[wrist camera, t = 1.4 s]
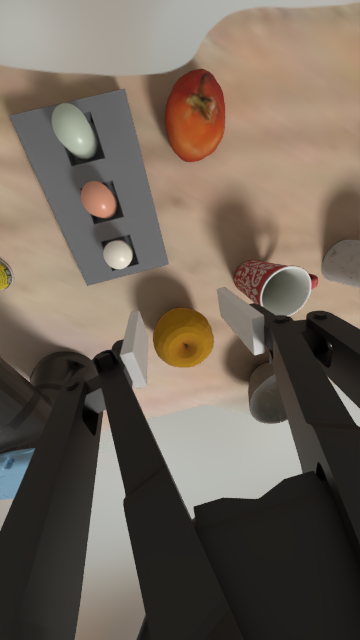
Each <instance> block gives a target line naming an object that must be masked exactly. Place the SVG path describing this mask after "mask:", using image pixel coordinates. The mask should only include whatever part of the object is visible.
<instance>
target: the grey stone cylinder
mask: <svg viewBox="0 0 360 640" xmlns="http://www.w3.org/2000/svg"><path fill="white" fill-rule="evenodd" d="M322 274H323V276H324V277H325V278H326V279H327V280H329V281H334V282H338V283H342V284H345V285H349V286H353V287H357V288H360V240H349V239H347V240H343V241H340V242H338V243H337V244H335V245H334V246H333V247H332V248H330V250H329V251H328V252H327V254H326V255H325V257H324V260H323V262H322Z"/></svg>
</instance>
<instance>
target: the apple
mask: <svg viewBox="0 0 360 640" xmlns="http://www.w3.org/2000/svg"><path fill="white" fill-rule="evenodd" d="M153 343H154V348H155V350H156V352H157V354H158V356H159V357H160V358H161V359H162V360H163V361H165V362H166V363H167V364H169V365H171V366H175V367H193V366H195V365H197V364H200V363H201V362H202V361H203V360H204V359H206V358H207V356H208V355H209V354H210V353H211V351H212V349H213V343H214V337H213V333H212V329H211V326H210V324H209V323H208V321H207V319H206V318H205V317H204V316H203V315H202V314H201V313H199V312H197V311H195V310H192V309H190V308H181V307H180V308H175V309H172V310H169V311H168V312H166V313H165V314H164V315H163V316H162V317H161V318H160V319H159V321H158V323H157V325H156V327H155V330H154V333H153Z"/></svg>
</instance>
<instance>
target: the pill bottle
mask: <svg viewBox="0 0 360 640" xmlns="http://www.w3.org/2000/svg"><path fill="white" fill-rule="evenodd" d="M13 280H14V276H13V272H12V270H11V268H10V267H9V266H8V265H7V264H6V263H5V262H4V261H2V260H0V291H1V290H4V289H6V288H8V287H9V286H11V285H12V283H13Z"/></svg>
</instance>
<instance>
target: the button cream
mask: <svg viewBox="0 0 360 640" xmlns="http://www.w3.org/2000/svg"><path fill="white" fill-rule="evenodd" d="M103 256H104V259H105V261H106V263H107V264H108V265H109V266H110V267H112V268H114V269H123V268H126V267H127V266H128V265H129V264H130V262H131V261H132V259H133V250H132V248H131V246H130V245H129V244H128V243H127V242H125V241H122V240H117V241H112V242H110V243H108V244H107V245H106V246H105V248H104V251H103Z"/></svg>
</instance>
